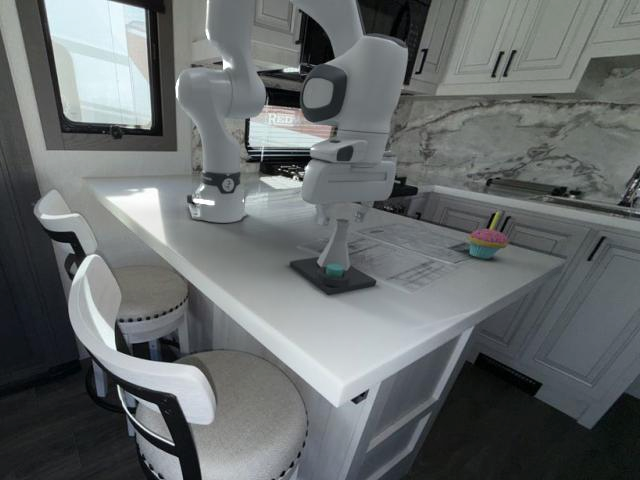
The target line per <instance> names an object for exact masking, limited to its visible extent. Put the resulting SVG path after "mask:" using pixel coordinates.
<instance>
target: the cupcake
mask: <svg viewBox="0 0 640 480" xmlns="http://www.w3.org/2000/svg"><path fill="white" fill-rule="evenodd" d="M500 211H501V209H500V208H498V211H496V213H495V216H494V218H493V220H492V222H491V225H490V227H489V228H479V229H476V230H474V231H471V233H470V234H469V235H468V237H467V240H468V241H469V255H471V256H472V257H475V258H478V259H484V260H489V259H491V258H492V257H493V256H494V255H495V254H496V253H497V252H498V251H500V250H501V249H505V248H507V247H508V245H509V242H510V240H509V237H507V235H506V234H505V233H503V232H502V231H498V230H496V229H494V228H495V226H496V223H497V221H498V219H499V216H500V214H501V212H500Z"/></svg>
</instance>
